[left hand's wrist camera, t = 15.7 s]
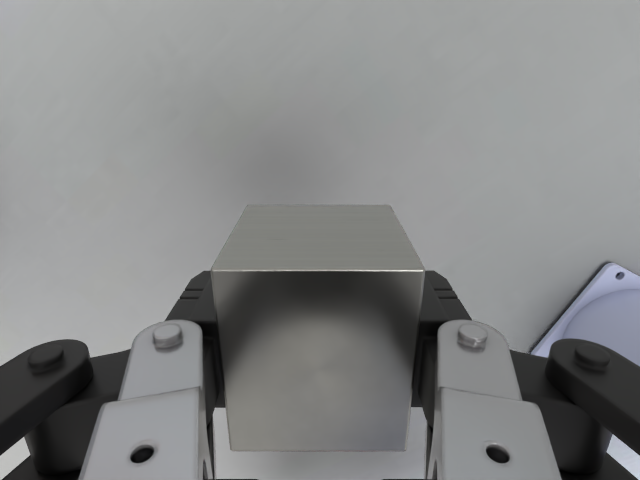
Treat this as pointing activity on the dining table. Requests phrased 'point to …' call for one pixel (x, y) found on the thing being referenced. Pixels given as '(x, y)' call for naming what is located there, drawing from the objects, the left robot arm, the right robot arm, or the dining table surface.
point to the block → (318, 328)
